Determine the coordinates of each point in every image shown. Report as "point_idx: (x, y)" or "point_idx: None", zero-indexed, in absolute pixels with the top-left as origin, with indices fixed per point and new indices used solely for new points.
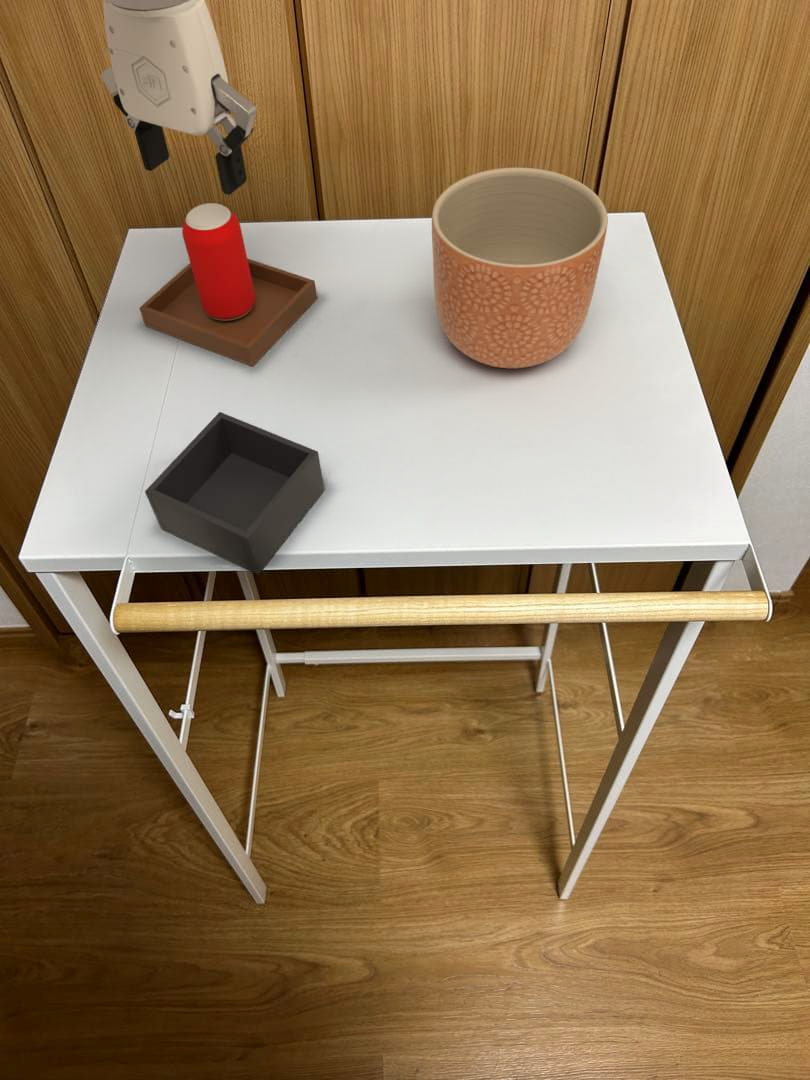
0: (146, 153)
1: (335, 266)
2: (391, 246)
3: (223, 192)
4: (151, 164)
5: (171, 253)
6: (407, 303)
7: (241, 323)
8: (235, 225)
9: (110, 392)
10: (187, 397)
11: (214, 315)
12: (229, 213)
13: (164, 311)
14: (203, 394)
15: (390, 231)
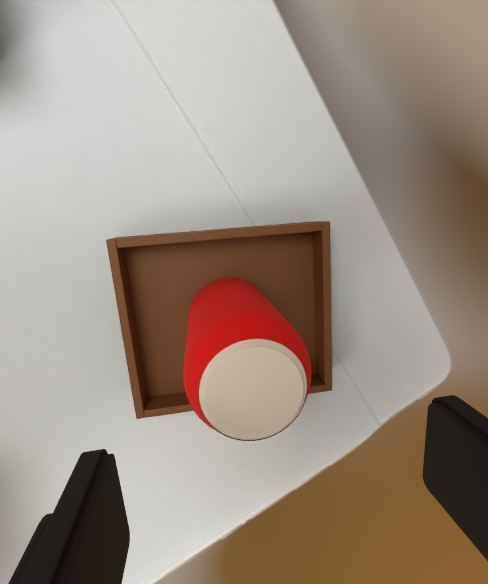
0: (481, 442)
1: (170, 463)
2: (132, 533)
3: (100, 450)
4: (442, 419)
5: (386, 359)
6: (24, 462)
7: (191, 297)
8: (194, 408)
9: (262, 73)
10: (152, 129)
11: (222, 278)
12: (216, 426)
13: (309, 256)
14: (135, 148)
15: (156, 553)
